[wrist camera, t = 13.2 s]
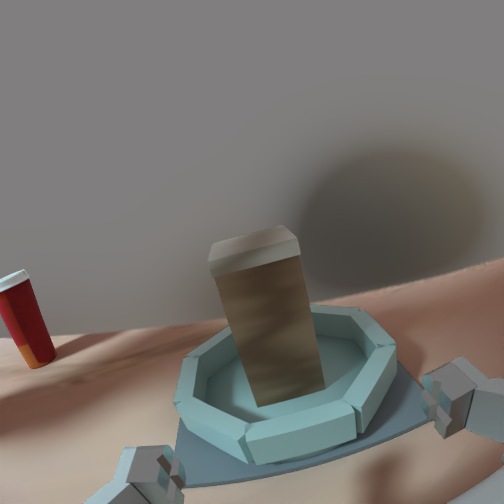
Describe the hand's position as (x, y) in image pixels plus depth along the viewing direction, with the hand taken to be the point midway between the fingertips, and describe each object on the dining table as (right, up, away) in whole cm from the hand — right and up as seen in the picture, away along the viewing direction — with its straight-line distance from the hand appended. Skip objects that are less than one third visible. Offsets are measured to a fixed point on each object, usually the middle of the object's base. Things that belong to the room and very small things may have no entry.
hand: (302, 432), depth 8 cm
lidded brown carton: (+1, -4, +15) cm, 15 cm away
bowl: (+1, -5, +15) cm, 16 cm away
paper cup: (-34, -12, +30) cm, 47 cm away
